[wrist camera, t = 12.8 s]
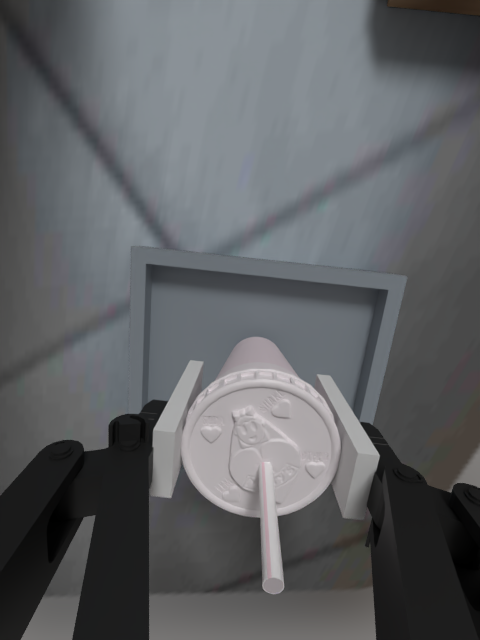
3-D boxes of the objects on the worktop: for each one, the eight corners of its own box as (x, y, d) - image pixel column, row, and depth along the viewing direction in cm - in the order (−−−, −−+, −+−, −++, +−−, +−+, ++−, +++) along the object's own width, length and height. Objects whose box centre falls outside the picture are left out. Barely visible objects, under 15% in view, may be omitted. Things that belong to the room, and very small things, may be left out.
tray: (139, 417, 25) (127, 435, 23) (143, 246, 22) (131, 246, 20) (353, 441, 25) (363, 461, 23) (390, 273, 22) (407, 276, 19)
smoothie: (230, 414, 22) (199, 680, 9) (195, 336, 21) (93, 505, 7) (314, 385, 21) (425, 628, 8) (283, 303, 20) (352, 422, 6)
